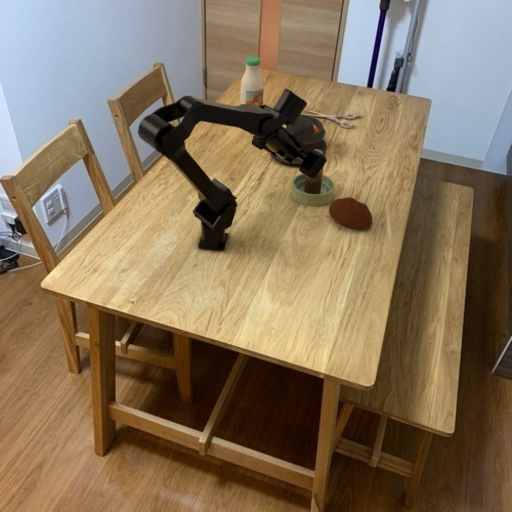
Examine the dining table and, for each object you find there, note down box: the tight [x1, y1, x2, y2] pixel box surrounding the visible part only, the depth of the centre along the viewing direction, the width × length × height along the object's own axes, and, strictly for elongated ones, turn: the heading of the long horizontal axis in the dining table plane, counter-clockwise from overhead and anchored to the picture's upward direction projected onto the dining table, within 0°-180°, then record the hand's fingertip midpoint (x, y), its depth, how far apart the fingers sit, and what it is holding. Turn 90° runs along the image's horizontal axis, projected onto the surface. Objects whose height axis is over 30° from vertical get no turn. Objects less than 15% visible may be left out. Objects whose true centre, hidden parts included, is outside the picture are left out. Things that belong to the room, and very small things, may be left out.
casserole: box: [270, 113, 327, 165], centre depth 163 cm, size 25×19×8 cm
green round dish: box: [290, 173, 335, 207], centre depth 145 cm, size 12×12×4 cm
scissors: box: [304, 109, 362, 129], centre depth 183 cm, size 11×1×20 cm
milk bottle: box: [239, 56, 265, 106], centre depth 176 cm, size 8×8×20 cm
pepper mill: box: [304, 149, 325, 194], centre depth 142 cm, size 5×5×13 cm
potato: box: [328, 196, 374, 230], centre depth 134 cm, size 8×12×8 cm, turn 74°
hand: (307, 165), depth 138 cm, fingers open, 9 cm apart
